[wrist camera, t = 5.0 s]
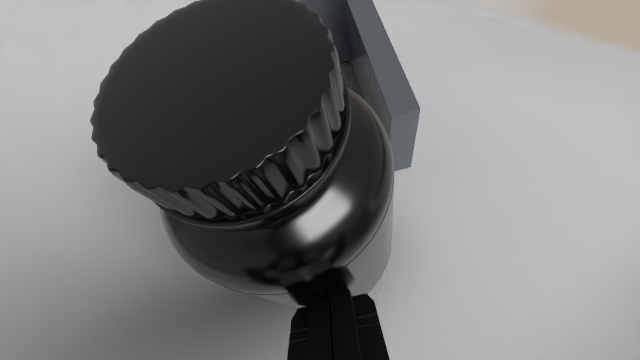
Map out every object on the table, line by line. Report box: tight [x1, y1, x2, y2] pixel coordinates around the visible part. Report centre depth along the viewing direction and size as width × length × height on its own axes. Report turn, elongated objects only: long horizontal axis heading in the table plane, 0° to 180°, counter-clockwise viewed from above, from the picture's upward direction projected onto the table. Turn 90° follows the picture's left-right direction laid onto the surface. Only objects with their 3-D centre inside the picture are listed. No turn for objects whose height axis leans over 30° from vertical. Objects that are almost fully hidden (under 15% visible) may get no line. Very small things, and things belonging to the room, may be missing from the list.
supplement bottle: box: [90, 0, 394, 309], centre depth 11 cm, size 7×7×12 cm
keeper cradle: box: [295, 0, 420, 171], centre depth 16 cm, size 10×11×9 cm
